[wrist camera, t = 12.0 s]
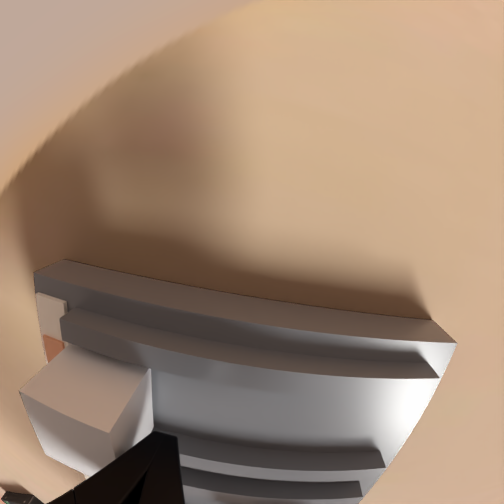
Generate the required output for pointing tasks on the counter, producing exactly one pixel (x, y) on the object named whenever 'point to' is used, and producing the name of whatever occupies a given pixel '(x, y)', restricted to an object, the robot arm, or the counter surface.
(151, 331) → the switch bank
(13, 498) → the disk drive
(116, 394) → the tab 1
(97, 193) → the counter surface
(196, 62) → the counter surface
